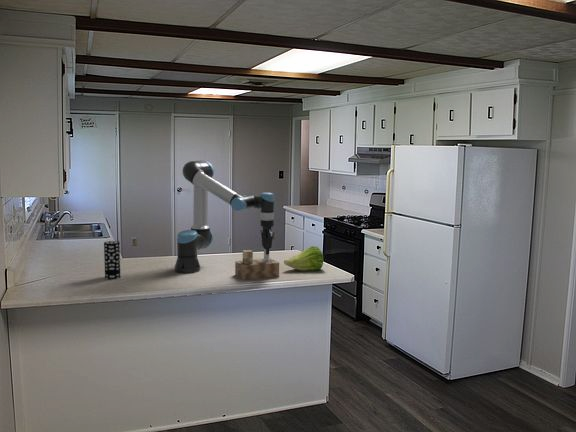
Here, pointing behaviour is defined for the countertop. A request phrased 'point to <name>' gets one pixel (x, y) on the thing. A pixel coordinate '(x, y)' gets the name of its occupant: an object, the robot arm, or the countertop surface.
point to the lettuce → (306, 260)
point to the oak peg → (247, 257)
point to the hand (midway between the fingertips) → (266, 259)
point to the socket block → (257, 269)
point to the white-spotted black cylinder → (112, 259)
